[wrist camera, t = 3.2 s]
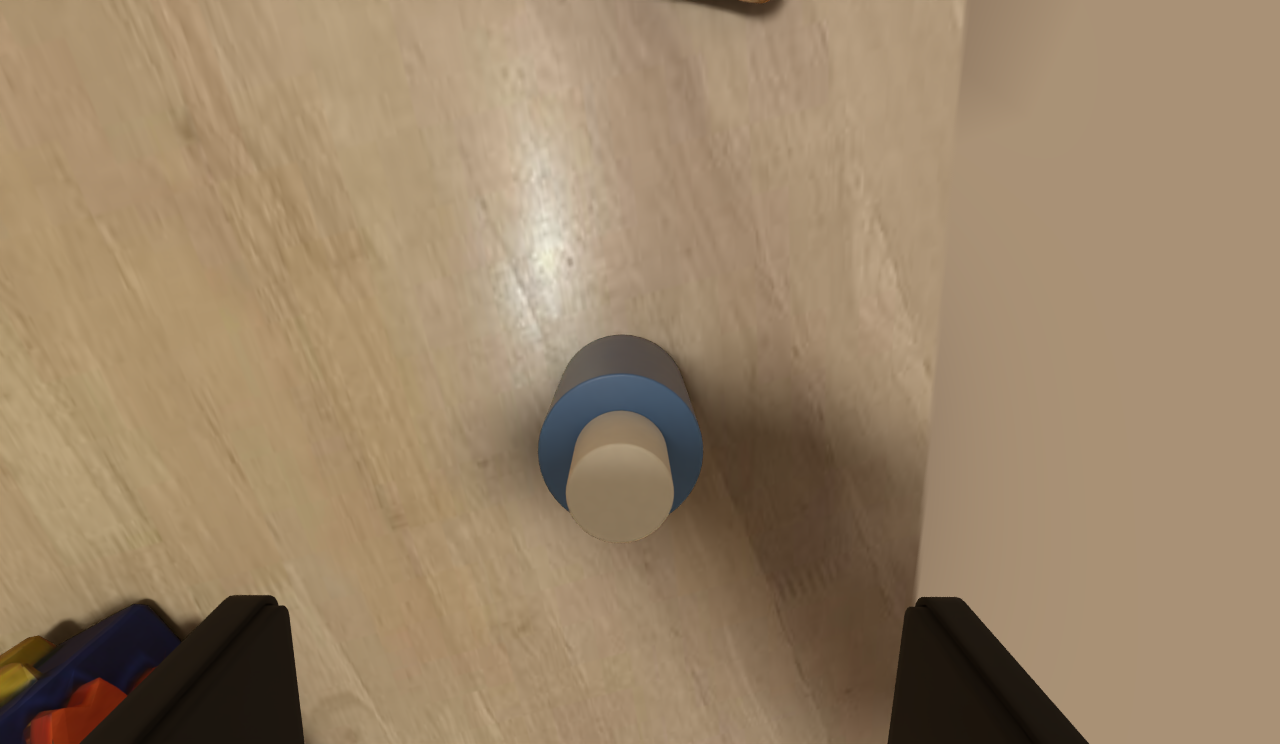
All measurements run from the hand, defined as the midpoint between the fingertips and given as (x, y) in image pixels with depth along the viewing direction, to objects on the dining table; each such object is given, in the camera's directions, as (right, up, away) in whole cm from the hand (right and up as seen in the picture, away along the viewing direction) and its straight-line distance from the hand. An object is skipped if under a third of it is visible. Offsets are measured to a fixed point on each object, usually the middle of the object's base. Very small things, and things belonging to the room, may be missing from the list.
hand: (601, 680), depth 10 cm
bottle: (0, +4, +16) cm, 17 cm away
